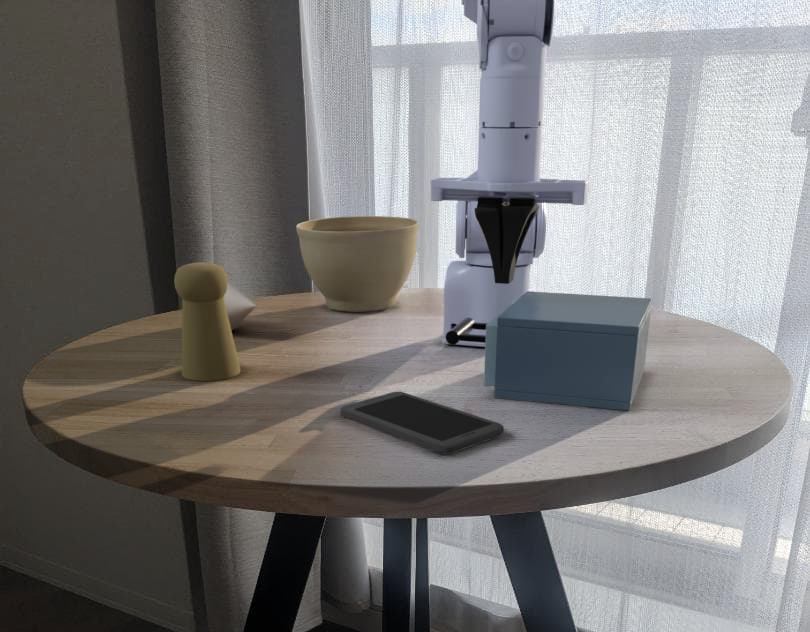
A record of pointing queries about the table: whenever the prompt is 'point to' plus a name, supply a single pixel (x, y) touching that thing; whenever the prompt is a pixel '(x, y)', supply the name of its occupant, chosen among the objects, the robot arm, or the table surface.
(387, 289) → the planter bowl
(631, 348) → the cabinet
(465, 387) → the table surface
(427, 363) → the table surface
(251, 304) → the grey cone
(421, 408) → the cell phone
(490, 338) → the drawer
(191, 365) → the cork
